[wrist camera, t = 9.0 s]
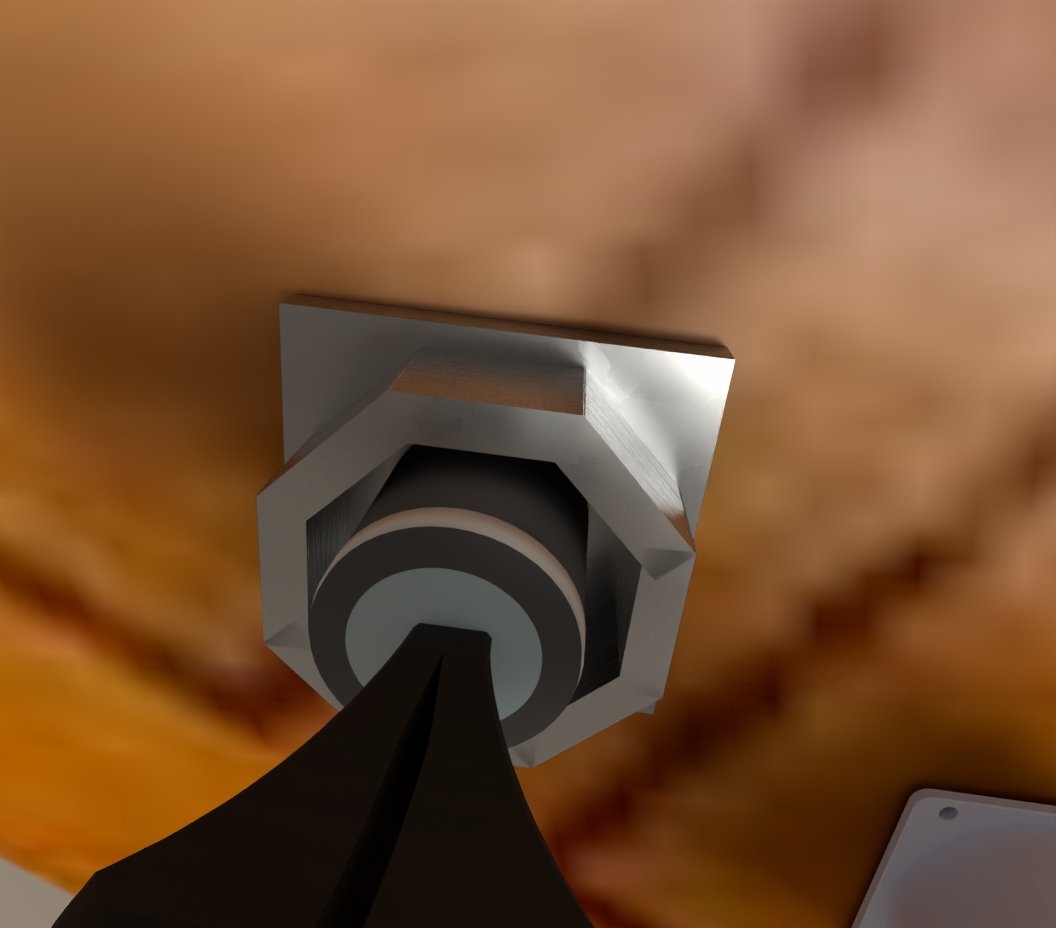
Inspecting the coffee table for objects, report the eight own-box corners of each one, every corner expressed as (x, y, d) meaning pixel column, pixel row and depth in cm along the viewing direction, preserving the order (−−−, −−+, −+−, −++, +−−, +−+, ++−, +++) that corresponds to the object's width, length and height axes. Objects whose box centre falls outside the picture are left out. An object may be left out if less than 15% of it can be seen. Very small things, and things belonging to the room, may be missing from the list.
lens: (615, 450, 17) (617, 573, 12) (562, 626, 19) (546, 785, 14) (398, 396, 17) (319, 499, 12) (369, 578, 19) (293, 722, 14)
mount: (727, 347, 17) (765, 406, 13) (650, 689, 21) (663, 805, 17) (295, 294, 17) (216, 337, 13) (303, 641, 21) (244, 747, 18)
